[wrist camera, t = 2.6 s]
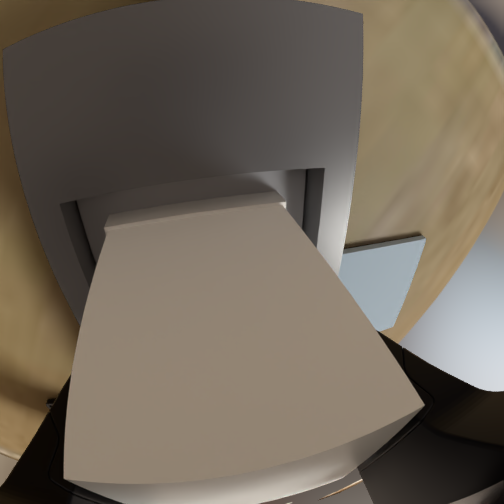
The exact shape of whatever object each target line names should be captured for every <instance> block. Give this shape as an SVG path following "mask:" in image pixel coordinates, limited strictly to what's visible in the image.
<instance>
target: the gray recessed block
mask: <svg viewBox="0 0 504 504" xmlns="http://www.w3.org/2000/svg"><path fill="white" fill-rule="evenodd" d="M3 74H4V88H5V99H6V108H7V115H8V122H9V128H10V134H11V140H12V145H13V150H14V155H15V159H16V164H17V168H18V172H19V176H20V180H21V183H22V187H23V191H24V194H25V197H26V201H27V204H28V207H29V210H30V213H31V216H32V219H33V222H34V225H35V228H36V231H37V233H38V236H39V239H40V241H41V244H42V247H43V249H44V252H45V254H46V257H47V259H48V261H49V264H50V266H51V268H52V271H53V273H54V275H55V277H56V279H57V282H58V284H59V286H60V288H61V290H62V292H63V294H64V296H65V298H66V300H67V302H68V304H69V306H70V308H71V310H72V312H73V314H74V316H75V318H76V319H77V321H78V323H79V325H80V326H81V322H82V318H83V313H84V309H85V305H86V301H87V298H88V294H89V290H90V286H91V283H92V279H93V276H94V273H95V269H96V266H97V263H98V259H99V256H100V253H101V250H102V247H103V244H104V241H105V238H106V233H105V230H104V226H105V224H106V221H107V219H108V216H109V215H110V214H115V213H121V212H126V211H132V210H138V209H144V208H150V207H156V206H163V205H169V204H176V203H183V202H190V201H197V200H204V199H212V198H219V197H227V196H236V195H244V194H253V193H263V192H273V191H278V193H279V194H280V195H281V196H282V197H283V198H284V200H285V201H286V210H287V211H288V213H289V214H290V215H291V216H292V218H293V219H294V220H295V221H296V223H297V224H298V225H299V226H300V228H301V229H302V230H303V232H304V233H305V234H306V235H307V237H308V238H309V239H310V241H311V242H312V243H313V244H314V246H315V247H316V248H317V250H318V251H319V252H320V254H321V255H322V256H323V258H324V259H325V260H326V262H327V263H328V264H329V266H330V267H331V268H332V270H333V271H334V272H335V274H336V275H337V276H338V275H339V270H340V265H341V259H342V254H343V249H344V243H345V237H346V231H347V225H348V219H349V213H350V206H351V199H352V192H353V185H354V177H355V169H356V160H357V150H358V140H359V129H360V116H361V101H362V80H363V14H361V13H358V12H354V11H350V10H346V9H341V8H337V7H332V6H327V5H322V4H316V3H310V2H304V1H297V0H158V1H151V2H144V3H139V4H133V5H128V6H123V7H118V8H114V9H110V10H106V11H102V12H98V13H94V14H91V15H87V16H84V17H81V18H77V19H74V20H71V21H68V22H65V23H62V24H60V25H57V26H54V27H51V28H49V29H46V30H44V31H41V32H39V33H37V34H34V35H32V36H30V37H27V38H25V39H23V40H21V41H19V42H17V43H15V44H12V45H10V46H8V47H7V48H5V49H3Z"/></svg>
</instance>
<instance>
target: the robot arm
mask: <svg viewBox="0 0 504 504" xmlns="http://www.w3.org/2000/svg"><path fill="white" fill-rule="evenodd" d="M375 330H376V329H375ZM376 331H377V330H376ZM377 332H378V334H379V335H380V337H381V338H382V340H383V341H384V343H385V344H386V346H387V347H388V349H389V350H390V352H391V353H392V355H393V356H394V358H395V359H396V361H397V362H398V364H399V365H400V367H401V368H402V370H403V371H404V373H405V374H406V376H407V378H408V379H409V381H410V382H411V384H412V385H413V387H414V389H415V390H416V392H417V393H418V395H419V396H420V398H421V400H422V401H423V403H424V405H425V406H424V407H423V408H422V409H421V410H420V411H419V412H418V413H417V414H416V415H415V416H414V417H413V418H412V419H411V420H410V421H409V422H408V423H407V424H406V425H405V426H404V427H403V428H402V429H401V430H400V431H399V432H398V433H397V434H395V435H394V436H393V437H392V438H391V439H390V440H389V441H388V442H387V443H386V444H384V445H383V446H382V447H381V448H380V449H379V450H377V451H376V452H375V453H374V454H373V455H371V456H370V457H369V458H368V459H367V460H365V461H364V462H363V463H362V464H360V465H359V466H358V467H357V468H358V470H359V472H360V475H361V477H362V479H363V482H364V484H365V486H366V488H367V490H368V492H369V495H370V497H371V499H372V501H373V503H374V504H504V391H500V392H492V391H485V390H482V389H479V388H476V387H474V386H472V385H470V384H468V383H466V382H464V381H462V380H460V379H458V378H456V377H454V376H452V375H450V374H448V373H446V372H444V371H442V370H440V369H438V368H437V367H435V366H433V365H431V364H429V363H427V362H426V361H424V360H423V359H421V358H419V357H418V356H416V355H415V354H413V353H411V352H410V351H408V350H407V349H405V348H402V346H400V345H399V344H397V343H396V342H394V341H393V340H391V339H390V338H388V337H387V336H385V335H383V334H382V333H380V332H379V331H377ZM70 381H71V375H70V377H69V378H68V380H67V382H66V383H65V385H64V386H63V388H62V390H61V391H60V393H59V395H58V396H57V398H56V400H47V403H46V406H47V407H48V408H49V409H50V412H48V413H47V415H46V417H45V419H44V420H43V422H42V424H41V425H40V427H39V429H38V431H37V432H36V434H35V436H34V437H33V439H32V441H31V442H30V444H29V445H28V447H27V448H26V450H25V451H24V453H23V454H22V456H21V457H20V459H19V461H18V462H17V464H16V465H15V467H14V468H13V470H12V471H11V473H10V474H9V476H8V478H7V479H6V481H5V482H4V483H3V484H2V485H1V487H0V504H124V503H121V502H118V501H115V500H113V499H110V498H107V497H105V496H102V495H99V494H97V493H94V492H92V491H90V490H87V489H85V488H83V487H80V486H78V485H76V484H74V483H72V482H69V481H67V480H65V479H64V442H65V426H66V414H67V404H68V396H69V388H70Z"/></svg>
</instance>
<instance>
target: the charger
mask: <svg viewBox="0 0 504 504" xmlns="http://www.w3.org/2000/svg"><path fill="white" fill-rule="evenodd" d="M104 230H105V233H106V238H105V241H104V244H103V247H102V250H101V253H100V256H99V259H98V263H97V266H96V269H95V273H94V276H93V279H92V283H91V286H90V290H89V294H88V298H87V301H86V305H85V309H84V313H83V318H82V322H81V326H80V331H79V336H78V340H77V345H76V351H75V356H74V362H73V368H72V374H71V381H70V388H69V396H68V404H67V414H66V426H65V442H64V479H65V480H67V481H69V482H72V483H74V484H76V485H78V486H80V487H83V488H85V489H87V490H90V491H92V492H94V493H97V494H99V495H102V496H105V497H107V498H110V499H113V500H115V501H118V502H121V503H124V504H259V503H263V502H267V501H272V500H276V499H280V498H283V497H287V496H291V495H294V494H298V493H301V492H304V491H307V490H310V489H313V488H316V487H319V486H322V485H325V484H328V483H330V482H333V481H336V480H338V479H341V478H343V477H344V476H346V475H347V474H348V473H350V472H351V471H352V470H354V469H355V468H356V467H358V466H359V465H360V464H362V463H363V462H364V461H365V460H367V459H368V458H369V457H370V456H371V455H373V454H374V453H375V452H376V451H377V450H379V449H380V448H381V447H382V446H383V445H384V444H386V443H387V442H388V441H389V440H390V439H391V438H392V437H393V436H394V435H395V434H397V433H398V432H399V431H400V430H401V429H402V428H403V427H404V426H405V425H406V424H407V423H408V422H409V421H410V420H411V419H412V418H413V417H414V416H415V415H416V414H417V413H418V412H419V411H420V410H421V409H422V408H423V407H424V406H425V405H424V403H423V401H422V400H421V398H420V396H419V395H418V393H417V392H416V390H415V389H414V387H413V385H412V384H411V382H410V381H409V379H408V378H407V376H406V374H405V373H404V371H403V370H402V368H401V367H400V365H399V364H398V362H397V361H396V359H395V358H394V356H393V355H392V353H391V352H390V350H389V349H388V347H387V346H386V344H385V343H384V341H383V340H382V338H381V337H380V335H379V334H378V332H377V331H376V330H375V328H374V327H373V325H372V324H371V322H370V321H369V319H368V318H367V317H366V315H365V314H364V312H363V311H362V310H361V308H360V307H359V305H358V304H357V303H356V301H355V300H354V298H353V297H352V296H351V294H350V293H349V291H348V290H347V289H346V287H345V286H344V285H343V283H342V282H341V280H340V279H339V278H338V276H337V275H336V274H335V272H334V271H333V270H332V268H331V267H330V266H329V264H328V263H327V262H326V260H325V259H324V258H323V256H322V255H321V254H320V252H319V251H318V250H317V248H316V247H315V246H314V244H313V243H312V242H311V241H310V239H309V238H308V237H307V235H306V234H305V233H304V232H303V230H302V229H301V228H300V226H299V225H298V224H297V223H296V221H295V220H294V219H293V218H292V216H291V215H290V214H289V213H288V211H287V210H286V201H285V200H284V198H283V197H282V196H281V195H280V194H279V193H278V191H273V192H263V193H253V194H244V195H236V196H227V197H219V198H212V199H204V200H197V201H190V202H183V203H176V204H169V205H163V206H156V207H150V208H144V209H138V210H132V211H126V212H121V213H115V214H110V215H109V216H108V219H107V221H106V224H105V226H104Z"/></svg>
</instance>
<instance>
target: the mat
mask: <svg viewBox="0 0 504 504" xmlns="http://www.w3.org/2000/svg"><path fill="white" fill-rule="evenodd" d="M425 241H426V238H425V237H424V236H423V235H422V236H417V237H411V238H406V239H400V240H394V241H389V242H383V243H377V244H372V245H366V246H360V247H354V248H349V249H343V254H342V259H341V265H340V270H339V275H338V278H339V279H340V280H341V282H342V283H343V285H344V286H345V287H346V289H347V290H348V291H349V293H350V294H351V296H352V297H353V298H354V300H355V301H356V303H357V304H358V305H359V307H360V308H361V310H362V311H363V312H364V314H365V315H366V317H367V318H368V319H369V321H370V322H371V324H372V325H373V327H374V328H375V329H376V330H377V331H382V330H385V329H388V328H391V327H393V326H394V323H395V321H396V319H397V317H398V314H399V312H400V310H401V307H402V305H403V302H404V300H405V297H406V295H407V292H408V290H409V287H410V285H411V282H412V279H413V277H414V274H415V271H416V268H417V266H418V263H419V260H420V257H421V254H422V251H423V248H424V245H425Z"/></svg>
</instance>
